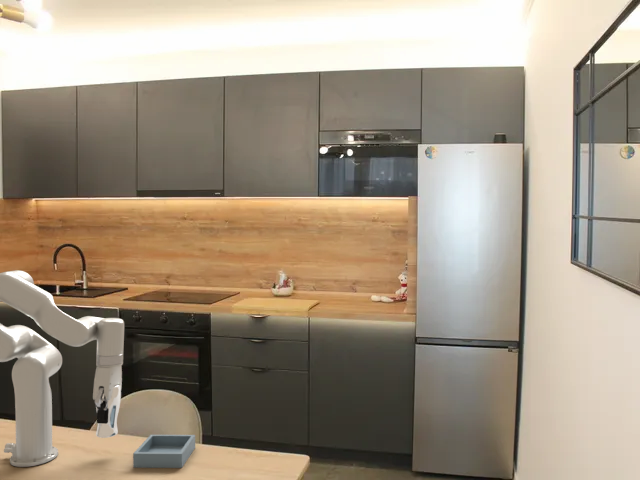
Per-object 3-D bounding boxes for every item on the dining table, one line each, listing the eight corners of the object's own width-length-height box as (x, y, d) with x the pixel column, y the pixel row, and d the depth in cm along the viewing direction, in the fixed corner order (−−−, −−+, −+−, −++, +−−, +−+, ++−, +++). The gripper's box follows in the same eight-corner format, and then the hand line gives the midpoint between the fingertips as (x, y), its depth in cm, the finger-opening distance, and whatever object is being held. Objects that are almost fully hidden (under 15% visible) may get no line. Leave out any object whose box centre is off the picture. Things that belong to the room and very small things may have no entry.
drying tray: (133, 467, 148) (133, 453, 148) (150, 447, 162) (150, 434, 162) (181, 467, 147) (181, 453, 147) (195, 447, 161) (195, 434, 161)
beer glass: (110, 439, 152) (112, 388, 152) (89, 436, 154) (91, 386, 154) (123, 431, 159) (125, 382, 159) (103, 428, 160) (105, 380, 160)
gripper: (110, 352, 165) (108, 408, 165) (83, 366, 148) (81, 428, 148) (133, 353, 165) (131, 410, 165) (109, 367, 148) (107, 430, 148)
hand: (107, 418), depth 156 cm, fingers closed on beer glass, 6 cm apart
